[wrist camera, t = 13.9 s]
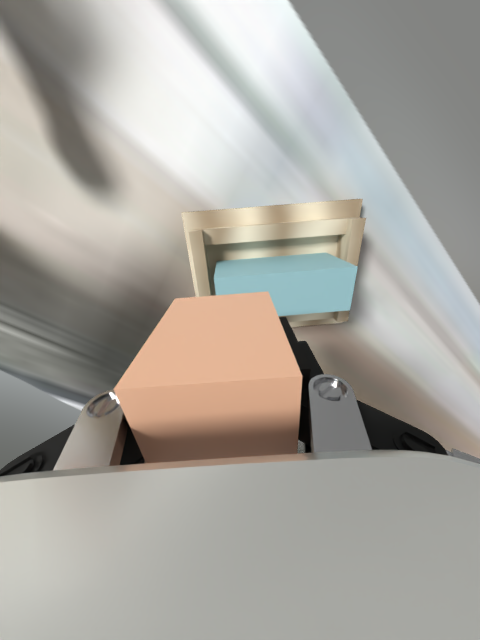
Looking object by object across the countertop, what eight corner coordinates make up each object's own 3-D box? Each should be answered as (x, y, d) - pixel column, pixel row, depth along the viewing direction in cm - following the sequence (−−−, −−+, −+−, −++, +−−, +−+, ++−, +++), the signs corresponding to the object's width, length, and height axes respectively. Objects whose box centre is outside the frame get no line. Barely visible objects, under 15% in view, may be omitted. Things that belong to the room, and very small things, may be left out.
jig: (203, 330, 29) (200, 346, 26) (183, 212, 23) (176, 213, 19) (337, 318, 29) (352, 332, 26) (356, 199, 23) (378, 197, 20)
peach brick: (192, 378, 13) (162, 499, 7) (175, 298, 11) (113, 389, 5) (269, 373, 13) (294, 491, 7) (268, 291, 11) (302, 376, 5)
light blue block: (220, 295, 26) (219, 321, 20) (216, 261, 24) (213, 278, 18) (322, 287, 26) (350, 310, 20) (326, 252, 24) (357, 266, 18)
